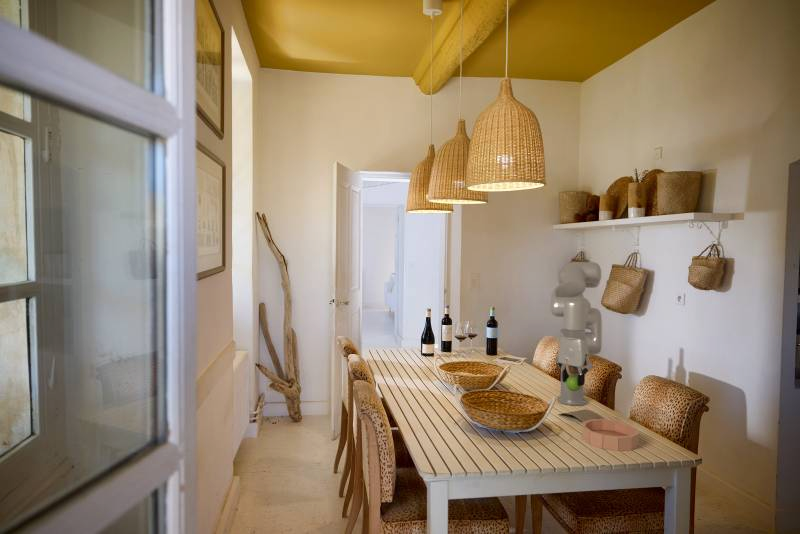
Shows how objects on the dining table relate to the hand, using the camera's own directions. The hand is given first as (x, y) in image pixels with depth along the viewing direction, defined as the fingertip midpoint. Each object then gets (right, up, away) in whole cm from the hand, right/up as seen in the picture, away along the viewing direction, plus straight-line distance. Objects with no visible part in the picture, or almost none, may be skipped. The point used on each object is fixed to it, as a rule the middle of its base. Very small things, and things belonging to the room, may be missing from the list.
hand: (573, 382), depth 182 cm
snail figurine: (0, -3, 0) cm, 3 cm away
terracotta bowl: (+12, -19, -4) cm, 23 cm away
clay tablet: (+10, -20, +20) cm, 29 cm away
